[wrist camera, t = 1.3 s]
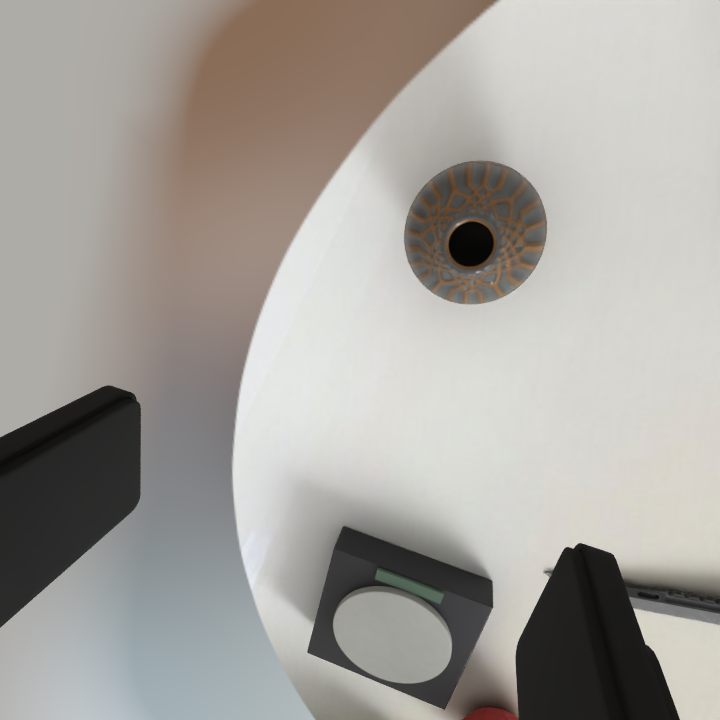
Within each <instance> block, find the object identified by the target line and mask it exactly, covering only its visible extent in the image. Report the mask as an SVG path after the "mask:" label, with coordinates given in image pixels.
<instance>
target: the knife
mask: <svg viewBox="0 0 720 720" xmlns="http://www.w3.org/2000/svg"><path fill="white" fill-rule="evenodd" d="M544 573H545V574H546V575H548V576H549V577H550V576H551V574H552V573H548V572H544ZM624 584H625V587H626V590H627V593H628V596H629V599H630V601H631V604H632V607H633V608H635V609H640V610H645V611H650V612H655V613H660V614H665V615H670V616H676V617H681V618H686V619H691V620H696V621H701V622H706V623H712V624H717V625H720V599H718V600H714V598H713V597H710V596H705V595H704V596H703V597H698V595H697V594H694V593H687V594H683V593H682V592H681V591H677V590H672V591H667V589H665V588H658V587H650V586H642V585H634V584H627V583H624ZM638 592H646V593H651V594H656V596H652V595H647V594H641V593H638Z"/></svg>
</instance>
